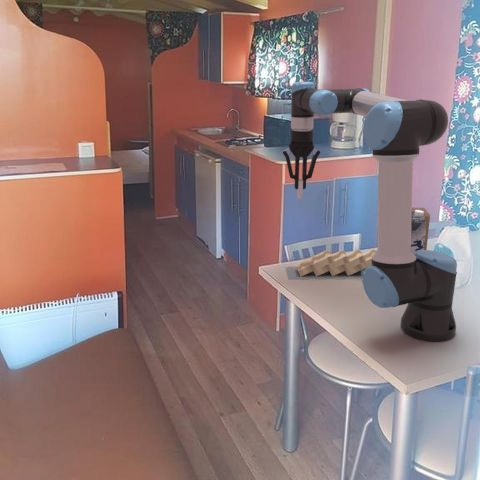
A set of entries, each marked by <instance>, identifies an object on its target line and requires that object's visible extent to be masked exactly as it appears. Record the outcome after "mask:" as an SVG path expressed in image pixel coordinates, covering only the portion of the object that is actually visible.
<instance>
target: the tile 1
mask: <svg viewBox="0 0 480 480" xmlns="http://www.w3.org/2000/svg"><path fill="white" fill-rule="evenodd" d="M331 255H332V254H331V253H330V250H329V249H326V250H324V251H322V252H319V253H317V254H315V255H313V256H311V257H309V258H307V259H305V260H302V261H300V262H297V263H296V264H295V267H297V269H298V272H299V274H300V276H303V275H305V274H308V273H310V272H312V271H314V270H317V269H319V268H321V267H323V266H326V265H328V264H330V263H332V262H334V260H333V258H332V256H331Z"/></svg>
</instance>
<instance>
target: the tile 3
mask: <svg viewBox="0 0 480 480" xmlns="http://www.w3.org/2000/svg"><path fill="white" fill-rule="evenodd" d="M363 254H364V253H362V251H361V250H360V249H359V248H358V249H356V250H354V251H351V252H349V253H346V255H347V257H348V259H349V261H350V262H348V263H345V264H343V265H341V266H339V267H336V268H334V269H332V270H330V273H331V275H332V276H334V275H336V274H339V273H341V272H343V271H345V270H347V269H350V268H352V267H354V266H356V265H358V264H361V263H363V262H365V261H366V260H365V258H364V256H363Z"/></svg>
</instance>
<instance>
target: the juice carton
mask: <svg viewBox="0 0 480 480" xmlns="http://www.w3.org/2000/svg"><path fill="white" fill-rule="evenodd" d="M425 236H426V219H425V218H424V211H421V210H415V211H412V214H411V253H412V254H413V255H414V253H415V251H417V250H424V245H425Z"/></svg>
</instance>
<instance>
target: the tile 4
mask: <svg viewBox="0 0 480 480" xmlns="http://www.w3.org/2000/svg"><path fill="white" fill-rule="evenodd" d="M376 252H377V250H376V248H372V249H371V250H370V249H369V250H368V251H365V252H364V253H362V254H363V256H364V258H365V260H366V261H365V262H363V263H361V264H358V265H356V266H354V267H352V268H350V269H347V270H345V271H346V273H347V275H348V276H349V275H351V274H354V273H356V272H358V271H360V270H362V269H365V268H367V267H369V266H371V265H372V255H374V254H375V253H376Z"/></svg>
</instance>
